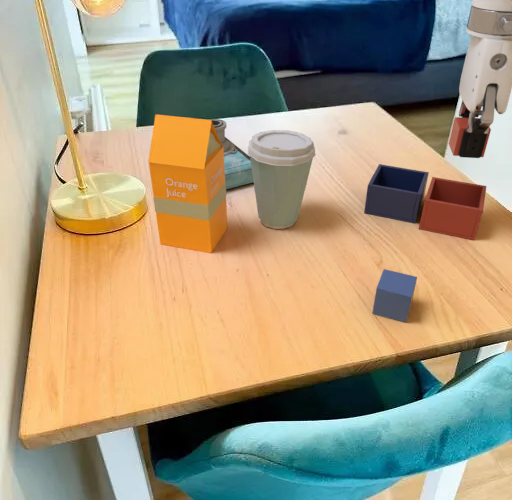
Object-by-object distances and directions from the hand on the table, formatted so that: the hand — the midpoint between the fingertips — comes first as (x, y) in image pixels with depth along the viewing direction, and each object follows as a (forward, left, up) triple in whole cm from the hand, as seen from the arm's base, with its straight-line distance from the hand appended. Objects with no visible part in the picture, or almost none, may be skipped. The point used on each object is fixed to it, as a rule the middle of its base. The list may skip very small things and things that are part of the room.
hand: (466, 148), depth 78 cm
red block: (0, 0, 0) cm, 0 cm away
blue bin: (+9, -1, -13) cm, 16 cm away
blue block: (+4, +26, -13) cm, 29 cm away
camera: (+44, -1, -13) cm, 46 cm away
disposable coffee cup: (+26, +11, -13) cm, 31 cm away
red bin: (0, 0, -13) cm, 13 cm away
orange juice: (+37, +21, -13) cm, 45 cm away
